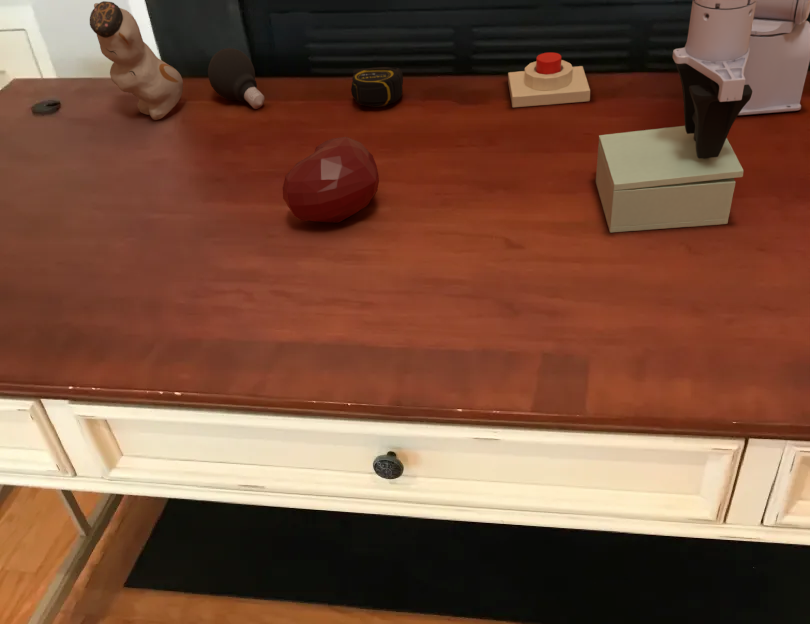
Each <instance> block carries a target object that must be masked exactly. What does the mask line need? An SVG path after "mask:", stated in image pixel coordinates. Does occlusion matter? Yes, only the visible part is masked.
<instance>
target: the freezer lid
mask: <svg viewBox="0 0 810 624" xmlns="http://www.w3.org/2000/svg"><path fill="white" fill-rule="evenodd" d="M692 119H693V121H694V123H695V130H694V133H693V134H687V133H686V129H685V125H679V126H670V127H661V128H652V129H651V128H650V129H645V130H644V129H643V130H635V131H625V132H617V133H616V132H615V133H608V134H600V135H598V144H599V143H600V147H601V150H602V153H603V156H604V160H605V163H606V166H607V170H608V173H609V176H610V179H611V183H612V186H613V189H614V191H615V190H625V189H634V188H644V187H653V186H663V185H672V184H681V183H691V182H700V181H710V180H719V179H729V178H734V179H735V178H743V177H744V168H743V167H742V164H741V163H740V161H739V158H738V156H737V155H736V152H735V151H734V149H733V147H732V145H731V143H730V142H729V139H728V137H727V138H726V140H725V143H724V145H723V147H722V149H721V152H720V154H719V156H718V157H712V158H700V159H699V158H698V157H697V154H696V116H695V112H694V114H693V116H692Z"/></svg>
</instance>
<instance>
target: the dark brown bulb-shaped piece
mask: <svg viewBox="0 0 810 624" xmlns="http://www.w3.org/2000/svg"><path fill="white" fill-rule="evenodd" d="M207 76H208V81H209V83H210V86H211V88H212V89H213V90H214V92H215V93H216V94H217V95H218V96H220V97H221V98H222V99H225V100H229V101H240V102H247V103H248V104H249V105H250V106H251V108H252V109H254V110H258V109H260V108H261V107H262V106H263V105H264V103H265V95H264V94H263V93H262V92H261V91H260V90H259V89H258V83H257V80H256V71H255V68H254V65H253V62H252V61H251V59H250V58H249V56H248V55H247V54H245V52H243V51H241V50H239V49H236V48H233V47H227V48H222V49H220V50H218V51H217V52H216V53H215V54H214V55H212V57H211V58H210V62H209V64H208V68H207Z"/></svg>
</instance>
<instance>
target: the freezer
mask: <svg viewBox="0 0 810 624" xmlns="http://www.w3.org/2000/svg"><path fill="white" fill-rule="evenodd" d="M596 162H597V163H596V173H595V184H596V188H597V192H598V195H599V199H600V203H601V206H602V209H603V213H604V216H605V220H606V224H607V227H608V230H609V233H622V232H623V233H624V232H636V231H637V232H639V231H649V230H664V229H677V228H678V229H679V228H690V227H691V228H692V227H693V228H694V227H706V226H717V225H727V224H728V222H729V217H730V214H731V213H730V212H731V208H732V203H733V197H734V192H735V187H736V180H735V178H729V179H719V180H710V181H700V182H691V183H681V184H672V185H663V186H653V187H644V188H634V189H625V190H615V191H614V189H613V186H612V183H611V179H610V176H609V173H608V170H607V166H606V163H605V160H604V156H603V153H602V150H601V147H600V143H599V142H598V146H597V160H596Z"/></svg>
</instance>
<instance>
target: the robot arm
mask: <svg viewBox="0 0 810 624" xmlns="http://www.w3.org/2000/svg"><path fill="white" fill-rule="evenodd" d="M809 15H810V0H692V3H691V10H690V17H689V25H688V31H687V39H686V43H685V45H684V47H679V48H675V49H673V52H672V59H673V61H674V63H675V65H676V69H677V72H678V75H679V79H680V83H681V90H682V100H683V119H684V126H685V129H686V133H687V134H693V133H694V130H695V123H694V121H693V119H692V116H693V114H694V112H695V116H696V154H697V157H698V158H699V159H700V158H712V157H718V156H719V154H720V152H721V149H722V147H723V145H724V143H725V140H726V138H727V139H728V135H729V133H730V131H731V129H732V127H733V124H734V122H735V121H736V120H737V118H738V116H749V115H759V114H760V115H762V114H772V113H773V114H775V113H784V112H785V113H786V112H796V111H800V110H801V109H802V105H801V100H802V95H803V92H804V87H805V83H806V79H807V75H808V70H809V66H810V21H808V20H807V19H808V18H809Z"/></svg>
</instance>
